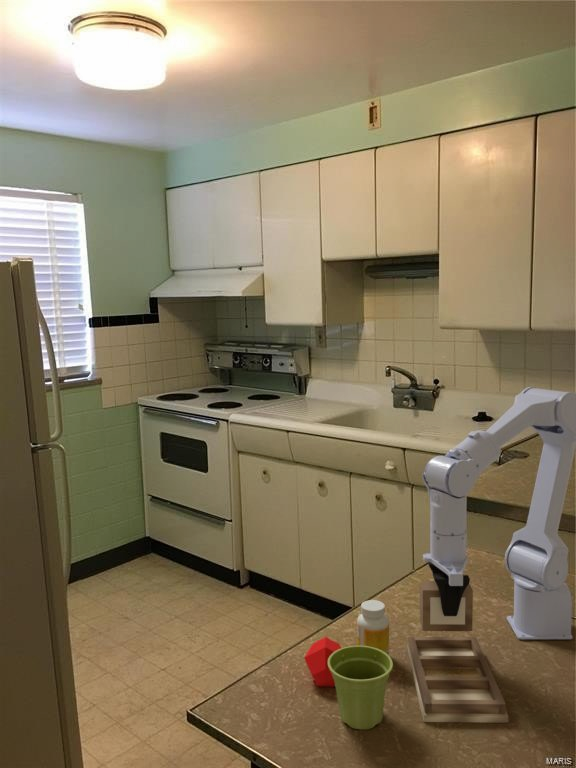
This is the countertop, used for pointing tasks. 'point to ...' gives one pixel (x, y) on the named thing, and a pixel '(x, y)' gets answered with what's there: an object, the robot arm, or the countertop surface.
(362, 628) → the supplement bottle
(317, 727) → the countertop surface
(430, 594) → the frame block
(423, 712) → the notch rack
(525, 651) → the countertop surface
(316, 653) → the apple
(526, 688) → the countertop surface
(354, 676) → the plant pot
